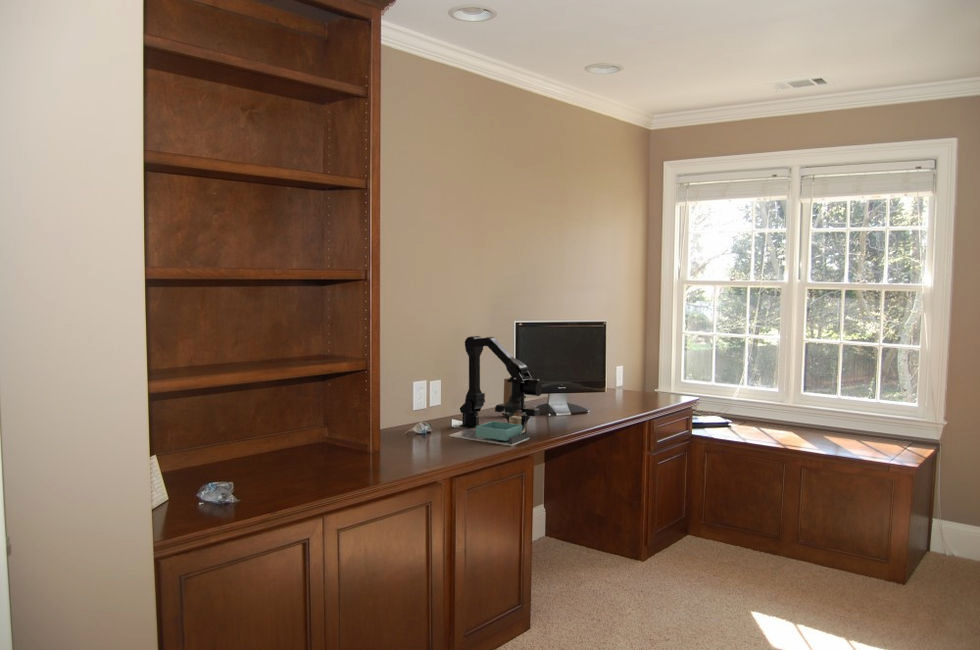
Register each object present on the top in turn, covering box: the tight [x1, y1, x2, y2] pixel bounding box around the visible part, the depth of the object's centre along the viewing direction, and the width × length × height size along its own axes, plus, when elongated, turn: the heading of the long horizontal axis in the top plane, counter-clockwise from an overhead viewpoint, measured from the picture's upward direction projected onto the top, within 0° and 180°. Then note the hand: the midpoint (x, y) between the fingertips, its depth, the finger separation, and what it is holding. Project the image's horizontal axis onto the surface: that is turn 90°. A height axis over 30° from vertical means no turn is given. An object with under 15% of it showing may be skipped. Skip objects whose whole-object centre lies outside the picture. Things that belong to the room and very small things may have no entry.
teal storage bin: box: [475, 420, 522, 441], centre depth 309 cm, size 14×14×5 cm
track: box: [448, 428, 531, 447], centre depth 312 cm, size 29×16×3 cm, turn 61°
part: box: [509, 416, 526, 433], centre depth 321 cm, size 5×5×7 cm
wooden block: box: [502, 377, 523, 417], centre depth 360 cm, size 9×4×18 cm, turn 56°
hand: (516, 430), depth 321 cm, fingers closed on part, 5 cm apart
